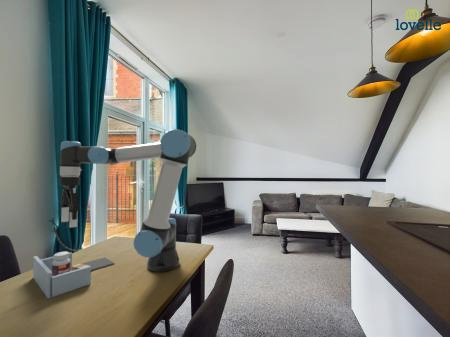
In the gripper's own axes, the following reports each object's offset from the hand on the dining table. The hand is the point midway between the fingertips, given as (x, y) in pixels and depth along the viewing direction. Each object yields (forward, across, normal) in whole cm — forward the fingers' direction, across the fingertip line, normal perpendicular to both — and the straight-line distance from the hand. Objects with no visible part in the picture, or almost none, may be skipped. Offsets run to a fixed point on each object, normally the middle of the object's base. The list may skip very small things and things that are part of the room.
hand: (69, 224), depth 101 cm
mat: (+22, +2, -13) cm, 26 cm away
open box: (+22, -5, +3) cm, 23 cm away
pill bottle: (+22, -5, +4) cm, 23 cm away
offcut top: (+20, -5, -4) cm, 21 cm away
